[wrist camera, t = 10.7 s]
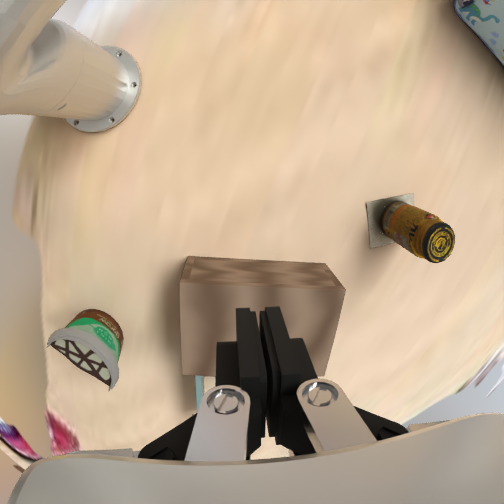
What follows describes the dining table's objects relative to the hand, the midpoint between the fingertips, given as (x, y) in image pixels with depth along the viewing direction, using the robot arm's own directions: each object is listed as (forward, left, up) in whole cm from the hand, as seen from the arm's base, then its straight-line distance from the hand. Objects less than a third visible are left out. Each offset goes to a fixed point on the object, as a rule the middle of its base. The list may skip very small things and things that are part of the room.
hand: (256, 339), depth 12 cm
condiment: (+24, -1, -32) cm, 40 cm away
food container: (-20, -21, -32) cm, 43 cm away
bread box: (+4, -16, -32) cm, 36 cm away
